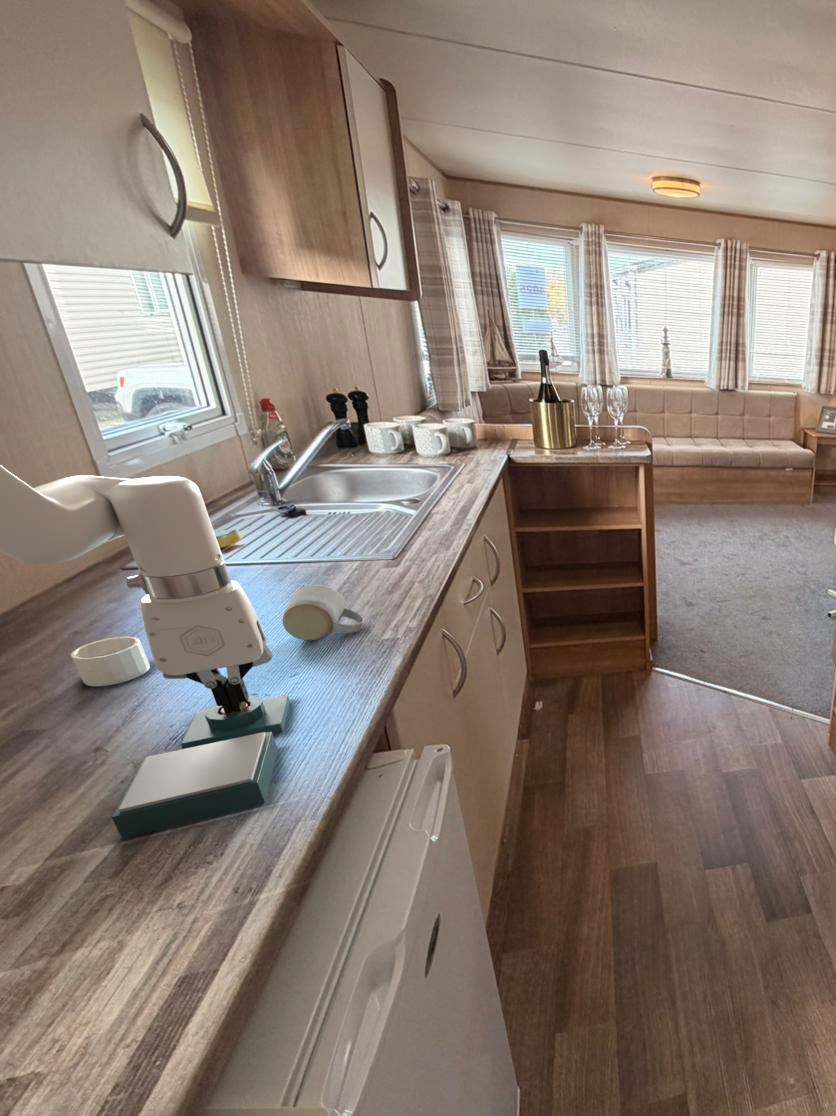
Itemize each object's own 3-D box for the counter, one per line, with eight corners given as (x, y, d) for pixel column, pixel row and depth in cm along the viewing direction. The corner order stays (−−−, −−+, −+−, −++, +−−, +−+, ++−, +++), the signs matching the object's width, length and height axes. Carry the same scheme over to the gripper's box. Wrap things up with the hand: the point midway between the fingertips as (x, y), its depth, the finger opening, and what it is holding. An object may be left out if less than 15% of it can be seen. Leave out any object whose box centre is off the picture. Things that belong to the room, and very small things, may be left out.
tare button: (221, 724, 83) (218, 715, 83) (225, 713, 86) (222, 704, 85) (248, 718, 85) (245, 710, 84) (252, 708, 87) (249, 699, 86)
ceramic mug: (285, 646, 106) (273, 604, 103) (299, 625, 113) (288, 585, 110) (360, 638, 110) (351, 597, 107) (369, 619, 117) (360, 580, 114)
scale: (121, 839, 67) (109, 814, 66) (152, 778, 76) (142, 755, 74) (265, 803, 73) (256, 779, 72) (278, 750, 82) (270, 728, 80)
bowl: (75, 690, 92) (62, 663, 90) (93, 668, 97) (81, 642, 95) (142, 679, 95) (130, 652, 93) (156, 659, 100) (145, 633, 99)
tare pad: (184, 753, 80) (176, 733, 79) (199, 720, 87) (192, 701, 85) (283, 732, 85) (276, 713, 84) (290, 702, 91) (284, 684, 90)
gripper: (91, 602, 71) (152, 737, 78) (261, 581, 78) (301, 707, 85) (114, 579, 77) (168, 707, 84) (270, 561, 84) (307, 681, 91)
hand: (235, 707), depth 85 cm, fingers closed
